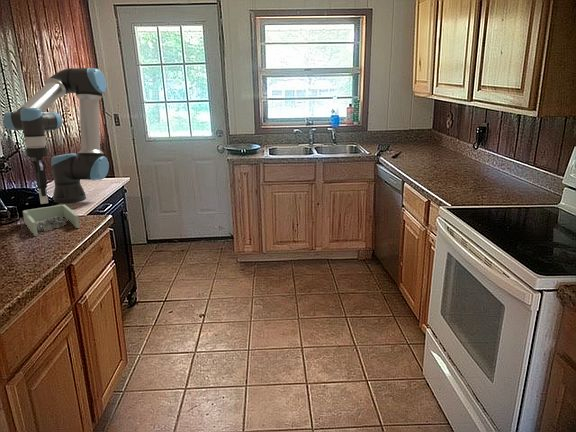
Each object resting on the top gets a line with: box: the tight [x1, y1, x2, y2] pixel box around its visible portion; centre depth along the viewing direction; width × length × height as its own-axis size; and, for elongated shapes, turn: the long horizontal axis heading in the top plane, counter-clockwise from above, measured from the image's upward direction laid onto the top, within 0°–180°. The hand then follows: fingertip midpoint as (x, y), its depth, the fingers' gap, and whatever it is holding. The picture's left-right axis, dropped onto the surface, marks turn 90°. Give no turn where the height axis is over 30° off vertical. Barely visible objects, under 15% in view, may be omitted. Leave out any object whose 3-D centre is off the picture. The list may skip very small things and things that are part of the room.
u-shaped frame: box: [22, 203, 81, 237], centre depth 185 cm, size 23×16×6 cm
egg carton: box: [36, 216, 68, 232], centre depth 183 cm, size 11×8×4 cm
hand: (44, 203), depth 188 cm, fingers closed
